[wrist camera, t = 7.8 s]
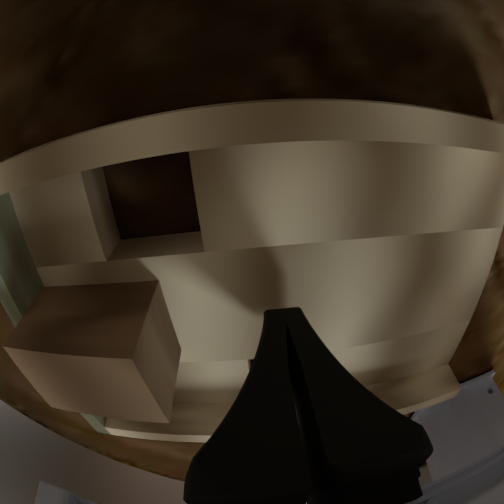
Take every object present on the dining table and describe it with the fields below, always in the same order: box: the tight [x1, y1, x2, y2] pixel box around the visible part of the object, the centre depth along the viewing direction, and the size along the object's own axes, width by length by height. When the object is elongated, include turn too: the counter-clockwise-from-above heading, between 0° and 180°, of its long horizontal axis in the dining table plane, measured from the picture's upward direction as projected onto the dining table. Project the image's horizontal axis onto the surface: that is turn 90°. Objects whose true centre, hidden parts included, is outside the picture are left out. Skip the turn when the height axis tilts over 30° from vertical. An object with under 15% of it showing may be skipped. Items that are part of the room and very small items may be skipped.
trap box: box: [0, 98, 504, 442], centre depth 12 cm, size 23×16×4 cm
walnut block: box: [3, 280, 181, 423], centre depth 10 cm, size 6×4×4 cm, turn 94°
